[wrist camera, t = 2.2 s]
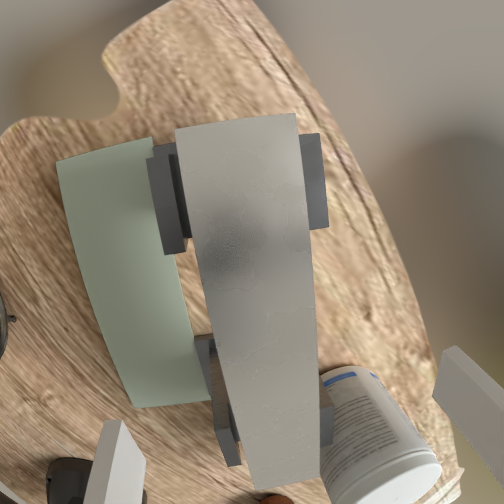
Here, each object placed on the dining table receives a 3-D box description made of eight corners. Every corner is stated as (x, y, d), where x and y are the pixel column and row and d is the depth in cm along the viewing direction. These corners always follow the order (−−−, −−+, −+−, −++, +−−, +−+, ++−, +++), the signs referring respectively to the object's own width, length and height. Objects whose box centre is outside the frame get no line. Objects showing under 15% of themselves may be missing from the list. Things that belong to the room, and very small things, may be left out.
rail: (247, 445, 22) (255, 490, 18) (182, 136, 15) (174, 129, 11) (303, 434, 22) (319, 476, 18) (271, 123, 16) (295, 112, 11)
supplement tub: (284, 425, 32) (319, 535, 18) (310, 359, 30) (370, 479, 16) (358, 422, 34) (408, 513, 20) (389, 361, 32) (463, 453, 18)
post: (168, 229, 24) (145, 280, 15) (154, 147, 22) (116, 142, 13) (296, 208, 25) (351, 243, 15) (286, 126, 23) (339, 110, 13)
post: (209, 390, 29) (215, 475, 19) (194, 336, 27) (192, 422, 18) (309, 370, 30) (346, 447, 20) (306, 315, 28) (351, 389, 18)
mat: (135, 404, 29) (134, 408, 28) (58, 161, 21) (55, 162, 21) (210, 395, 30) (211, 399, 29) (152, 137, 22) (151, 136, 22)
